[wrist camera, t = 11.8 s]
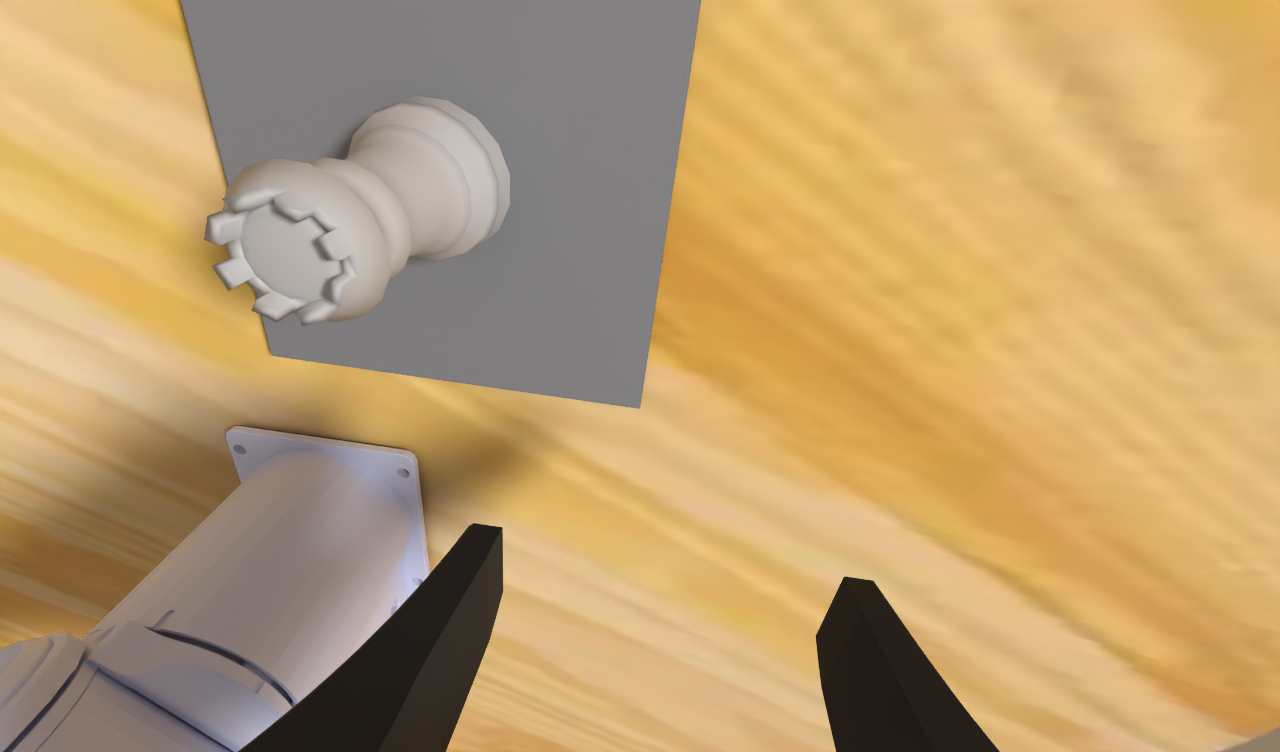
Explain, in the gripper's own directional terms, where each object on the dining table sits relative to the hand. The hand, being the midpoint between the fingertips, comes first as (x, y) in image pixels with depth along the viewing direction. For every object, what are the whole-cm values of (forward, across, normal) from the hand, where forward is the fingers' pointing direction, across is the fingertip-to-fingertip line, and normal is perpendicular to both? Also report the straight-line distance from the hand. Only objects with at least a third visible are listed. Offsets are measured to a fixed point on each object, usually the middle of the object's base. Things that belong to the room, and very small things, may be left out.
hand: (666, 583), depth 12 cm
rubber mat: (+10, +8, -5) cm, 14 cm away
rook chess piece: (+10, +8, -6) cm, 14 cm away
